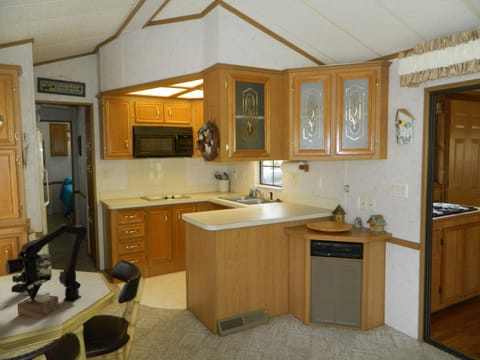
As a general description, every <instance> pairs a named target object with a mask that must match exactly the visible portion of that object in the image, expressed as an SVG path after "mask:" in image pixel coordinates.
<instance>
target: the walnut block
mask: <svg viewBox="0 0 480 360" xmlns="http://www.w3.org/2000/svg"><path fill="white" fill-rule="evenodd" d="M35 298H37V296H36V297H35ZM29 299H31V298H30V297H28V298H26V299H24V300H22V301H19V302H18V303H17V315H18V316H21V317H26V318H31V319H38V320H41V319H42V318H44V317H46V316H48V315H49V314H51V313H53V312H55V311H56V310H58V309H59V307H60V306H59V304H60V303H59V296H57V295H50V300H49V301H47V302H45V303H39V302H37V300H35V301H33V302H32V301H27V300H29ZM54 310H55V311H54Z"/></svg>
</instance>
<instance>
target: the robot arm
mask: <svg viewBox="0 0 480 360" xmlns="http://www.w3.org/2000/svg"><path fill="white" fill-rule="evenodd" d="M65 233H67V234H68V233H69V234H70V239H71V245H70V248H69V252H68V257H67V261H66V265H65V269H64V270H60V272H59V277H58V279H59V283H60V284H61V285H62V286H63V287H64V288H65V289H64V291H65V292H64V298H63V301H66V302H76V300H78V299H81V297H82V295H80V291H79V289H80V288H81V285H82V284H81V283H80V282H78V281H77V273H76V269H77V268H76V267H77V263H78V258H79V254H80V249H81V246H82V243H83V241H84V240H85V238H86V237H87V234H88V229H87V228H86V227H85V226H84V225H83V226H82V225H79V224H75V225H71V224H65V223H61V224H59V225H58V226H57V227H55V228H53V229H52V230H50V231H49V232H47V233H46V234H44V235H42V236H41V237H39V238H37V239H34V240H31V241H28V242H26V243H24V244H23V245H22V246H21V249H20V251H19V253H18V255H17V256H16V258H10V259H6V263H5V272H6V274H7V275H11V274H15V275H13V276H12V278H11V279H12V282H13V283H16V284H14V285H12V286H11V293H18V294H22V293H23V292H25V291H27V292H28V294H29V295H28V296H29V298H31V299H32V300H34V299H35V297H36V294H37V293H39V290H40V289H41V287H42V286H43V283H41V282H42V281H41V280H44V279H45V281H44V282H49V281H50V280H51V279H52V278H51V276H50V275H49V274H43V273H42V274H40V275H38V272H40V270H38V266H37V259H40V258H42V257H41V256H39V255H40V254H38V253H40V252H41V251H42V250H43V248H44V247H45V246H46V245H48V244H50V243H51V242H53V241H54V240H57V239H58V238H59V237H60V236H62V235H63V234H65ZM23 269H24V272H22V275H21V274H20V275H18V274H16V273H19V272H20V273H21V271H22V270H23ZM21 281H22V283H24V282H25V284H22V283H21ZM40 281H41V282H40Z"/></svg>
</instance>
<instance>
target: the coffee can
mask: <svg viewBox="0 0 480 360" xmlns="http://www.w3.org/2000/svg"><path fill="white" fill-rule="evenodd" d="M38 255H39V256H41V257H42V258H40V259H37V266H38V270H40V272H38V275H40V274H42V273H43V274H49V275H50V276H51V279H52V278H53V277H52V276H53V275H52V262H51V261H52V260H51V259H52V258H51V257H52V256H51V254H49V253H48V254H47V253H43V254H42V253H41V254H38ZM41 282H46V281H45V279H44V280H41V281H40V283H41Z"/></svg>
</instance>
